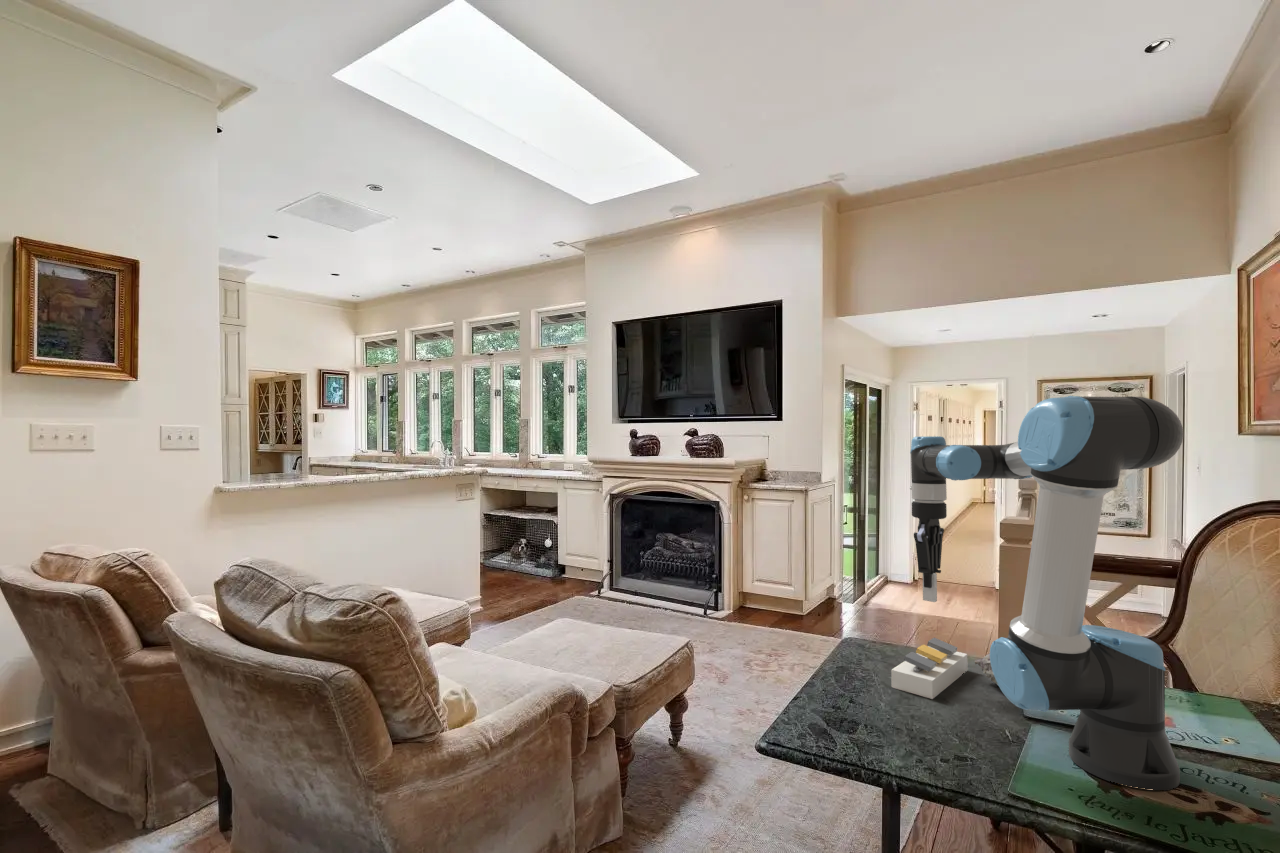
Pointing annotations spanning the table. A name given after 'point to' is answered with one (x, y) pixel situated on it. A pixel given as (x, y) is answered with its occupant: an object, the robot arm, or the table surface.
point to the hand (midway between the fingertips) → (929, 600)
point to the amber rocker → (931, 653)
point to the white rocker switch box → (929, 675)
